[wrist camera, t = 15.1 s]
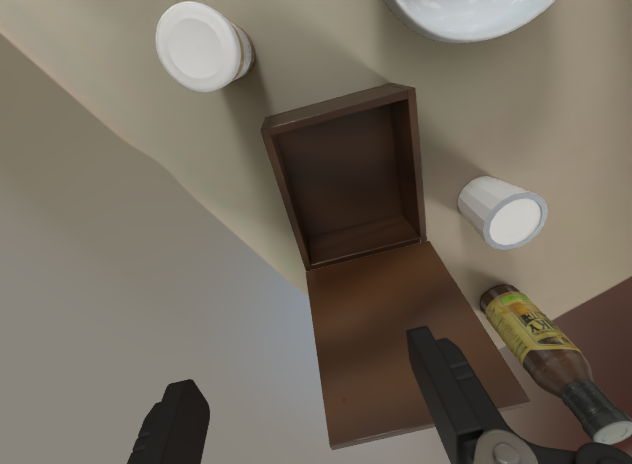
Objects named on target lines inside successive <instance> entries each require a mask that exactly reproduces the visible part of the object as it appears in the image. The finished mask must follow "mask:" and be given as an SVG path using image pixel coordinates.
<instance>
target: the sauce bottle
mask: <svg viewBox="0 0 632 464" xmlns="http://www.w3.org/2000/svg"><path fill="white" fill-rule="evenodd" d="M480 308H481V310H482V312H483V313H484V314H485V315H486V318H487V320H488V321H489V322H490V324H491V325H492V326H493V328H494V329H495V330H496V332H497V333H498V334H499V336H500V337H501V338H502V340H503V341H504V342H505V344H506V345H507V346H508V348H509V349H510V350H511V352H512V353H513V354H514V356H515V357H516V358H517V360H518V361H519V362H520V364H521V365H522V366H523V368H524V369H525V370H526V371H527V372H528V373H529V374H530V375H531V377H532V378H533V380H534V381H535V382H536V383H537V385H538V386H540V387H541V388H543V389H544V390H546V391H547V392H549V393H551V394H553V395H555V396H557V397H559V398H561V399H562V401H563V402H564V404H565V405H566V406H567V407H569V409H570V410H571V411H572V412H573V414H574V415H575V416H576V417H577V419H578V420H579V421H580V422H581V424H582V427H583V430H584V431H585V432H586V433H587V435H589V437H590V438H591V439H592V440H593V441H594V442H599V443H604V444H608V445H609V444H614V443H617V442H620V441H622V440H624V439H626V438H627V437H629V436H630V435H631V434H632V419H631V418H630V417H629V416H628V415H627V414H626V413H625V412H624V411H622V410H621V409H619V408H618V407H616V406H615V405H614V403H613V402H612V401H611V400H610V399H609V398H608V397H607V396H606V395H605V394H604V393H603V392H602V391H601V388H600V387H599V386H597V385H596V384H595V383H594V382H593V377H592V372H591V368H590V366H589V363H588V362H587V360H586V359H585V358H584V356H583V355H582V353H581V352H580V351H579V349H578V348H576V346H574V344H573V343H572V342H571V341H570V340H569V339H568V338H567V337H566V336H565V335H564V334H563V333H562V332H561V331H560V330H559V329H558V328H557V327H556V326H555V325H554V324H553V323H552V322H551V321H550V320H549V319H548V318H547V317H546V315H545V314H543V313H542V312H541V311H540V310H539V309H538V308H537V307H536V306H535V305H534V304H533V303H532V302H531V301H530V299H529V298H528V297H527V296H526V295H524V294H523V293H521V292H520V291H519V290H517V289H516V288H515V287H513V286H509V285H508V286H497V287H495V288H493V289H491V290H490V291H488V292H487V293H486V294H484V296H483V297H482V299H481V303H480Z"/></svg>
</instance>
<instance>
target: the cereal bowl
mask: <svg viewBox="0 0 632 464" xmlns="http://www.w3.org/2000/svg"><path fill="white" fill-rule="evenodd" d="M384 1H385V3H386V5H387V6H388V7H389V9H390V11H392V12H393V14H394V15H395V16H396V17H397V19H398V20H400V21H401V22H402V23H403V24H404V25H406V26H407V28H410V29H411V30H413V31H414V32H416V33H417V34H420V35H422V36H423V37H427V38H429V39H432V40H436V41H440V42H445V43H461V44H462V43H473V42H479V41H484V40H490V39H493V38H496V37H499V36H502V35H504V34H507V33H509V32H512V31H514V30H516V29H518V28H519V27H521V26H523V25H525V24H526V23H528V22H529V21H531V20H532V19H534V18H535V17H537V16H538V15H539V14H541V13H542V12H543V11H544V10H545V9H547V8H548V7H549V6H550V5H551V4H552V3H553V2H554V1H555V0H384Z"/></svg>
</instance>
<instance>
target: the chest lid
mask: <svg viewBox="0 0 632 464" xmlns="http://www.w3.org/2000/svg"><path fill="white" fill-rule="evenodd" d="M306 278H307V285H308V292H309V299H310V307H311V314H312V321H313V328H314V335H315V343H316V349H317V357H318V363H319V371H320V378H321V385H322V393H323V400H324V407H325V414H326V422H327V429H328V436H329V443H330V447H331V449H332V450H335V449H340V448H344V447H348V446H353V445H357V444H361V443H366V442H371V441H375V440H379V439H384V438H388V437H392V436H397V435H402V434H406V433H410V432H414V431H419V430H424V429H428V428H433V427H436V426H435V424H434V422H433V419H432V417H431V414H430V412H429V410H428V407H427V405H426V402H425V400H424V398H423V395H422V393H421V390H420V388H419V386H418V383H417V381H416V378H415V376H414V373H413V371H412V367H411V364H410V360H409V353H408V344H407V336H406V330H409V329H413V328H418V327H422V326H428V328H429V329H430V331H431V333H432V334H433V336H434V338H435V340H438V339H442V338H448V339H449V340H450V341H452V342H453V343H454V344H455V345H457V346H458V347H459V348H460V349H461V351H462V352H463V354H464V356H465V357H466V359H467V361H468V363H469V365H471V367H472V369H473V370H474V372H475V374H476V376H477V377H478V378H479V380H480V382H481V383H482V385H483V387H484V388H485V390H486V391H487V393H488V395H489V396H490V398H491V400H492V401H493V403H494V404H495V406H496V408H497V409H498V411H499V412H503V411H507V410H512V409H516V408H521V407H525V406H528V405H529V403H530V399H529V398H528V396H527V395H526V393H525V392H524V390H523V389H522V387H521V385H520V384H519V382H518V381H517V379H516V377H515V376H514V374H513V373H512V371H511V369H510V368H509V366H508V365H507V363H506V362H505V360H504V358H503V357H502V355H501V354H500V352H499V350H498V349H497V347H496V346H495V344H494V343H493V341H492V339H491V338H490V336H489V335H488V333H487V332H486V330H485V328H484V327H483V325H482V324H481V322H480V320H479V319H478V317H477V316H476V314H475V313H474V311H473V309H472V308H471V306H470V305H469V303H468V302H467V300H466V298H465V297H464V295H463V294H462V292H461V290H460V289H459V287H458V286H457V284H456V283H455V281H454V279H453V278H452V276H451V275H450V273H449V271H448V270H447V268H446V267H445V265H444V264H443V262H442V260H441V259H440V257H439V256H438V254H437V253H436V251H435V249H434V248H433V246H432V245H431V243H430V241H427V242H423V243H419V244H415V245H411V246H407V247H403V248H399V249H395V250H391V251H387V252H383V253H379V254H375V255H371V256H367V257H363V258H359V259H355V260H352V261H348V262H344V263H340V264H336V265H332V266H328V267H324V268H320V269H316V270H312V271H308V272H306Z"/></svg>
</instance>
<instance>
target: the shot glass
mask: <svg viewBox="0 0 632 464" xmlns="http://www.w3.org/2000/svg"><path fill="white" fill-rule="evenodd" d="M458 207H459V210H460V212H461V213H462V215H463V216H464V217H465V218H466V219H467V220H468V222H469V223H470V224H471V225H472V226H473V227H474V229H475V230H476V231H477V232H478V233H479V234H480V236H481V237H482V238H483V239H484V240H485V241H486V242H487V243H488V244H489V245H490V246H491V247H492V248H495V249H500V250H508V249H515V248H517V247H519V246H522V245H524V244H526V243H528V242H529V241H530V240H531V239H532V238H534V237H535V236H536V235H537V234H538V233H539V231H540V230H541V228H542V227H543V225H544V224H545V221H546V217H547V213H548V211H547V206H546V202H545V201H544V200H543V199H542V198H541V197H540V196H539V195H538V194H535V193H532V192H530V191H527V190H525V189H522V188H520V187H517V186H514V185H512V184H509V183H507V182H504V181H501V180H499V179H496V178H493V177H490V176H483V177H478V178H476V179H474V180H472V181H470V182H469V183H468V184H467V185H466V186H465V187H464V188H463V189H462V191H461V193H460V195H459V197H458Z"/></svg>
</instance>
